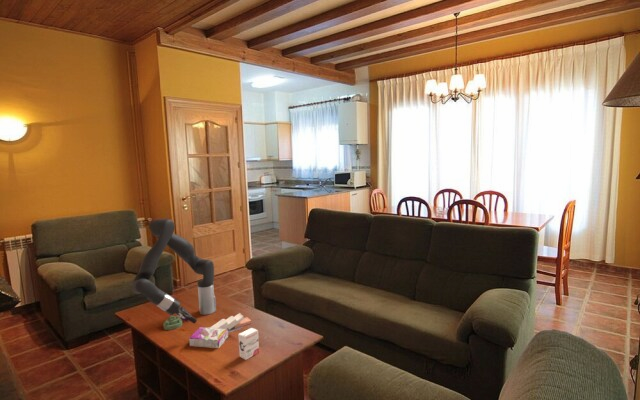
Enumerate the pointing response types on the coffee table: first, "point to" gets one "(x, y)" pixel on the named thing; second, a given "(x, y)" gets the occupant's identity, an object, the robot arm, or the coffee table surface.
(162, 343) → the coffee table surface
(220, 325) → the domino
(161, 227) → the robot arm
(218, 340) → the candy bar box
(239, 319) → the domino
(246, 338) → the ink box
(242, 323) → the domino
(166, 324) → the decorative artifact
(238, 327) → the mat
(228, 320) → the domino
